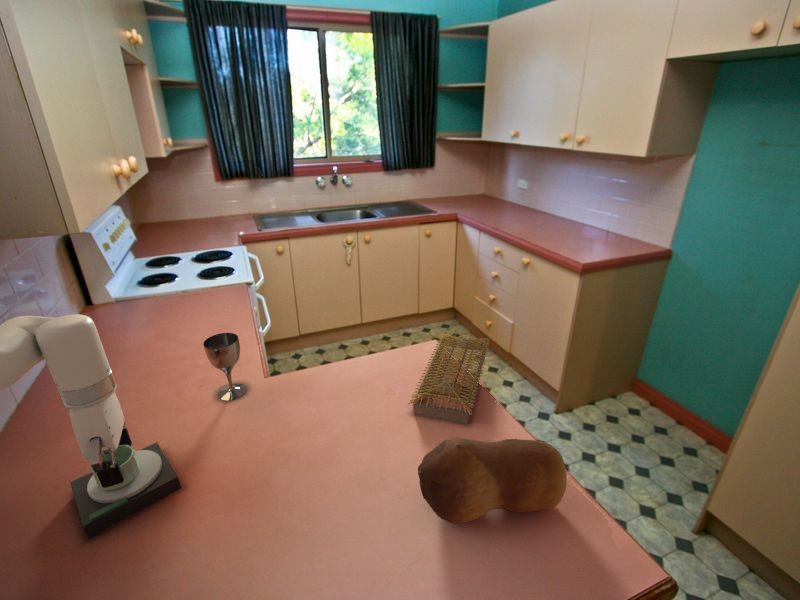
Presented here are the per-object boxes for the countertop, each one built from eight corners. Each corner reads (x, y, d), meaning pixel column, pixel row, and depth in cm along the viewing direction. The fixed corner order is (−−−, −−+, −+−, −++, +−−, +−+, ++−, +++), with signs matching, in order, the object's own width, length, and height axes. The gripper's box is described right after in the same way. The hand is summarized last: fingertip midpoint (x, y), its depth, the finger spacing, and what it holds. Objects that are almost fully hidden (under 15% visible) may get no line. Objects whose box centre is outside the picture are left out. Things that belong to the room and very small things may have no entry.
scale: (88, 539, 71) (81, 523, 70) (75, 493, 80) (68, 478, 79) (181, 488, 81) (177, 473, 79) (161, 452, 89) (156, 438, 88)
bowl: (94, 497, 75) (86, 477, 73) (101, 470, 80) (94, 451, 78) (138, 484, 77) (131, 465, 75) (142, 458, 83) (136, 440, 81)
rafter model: (471, 427, 94) (472, 404, 91) (408, 415, 98) (408, 393, 96) (489, 349, 124) (491, 330, 122) (441, 342, 128) (441, 324, 126)
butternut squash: (424, 543, 66) (581, 530, 68) (421, 459, 65) (580, 448, 67) (416, 496, 80) (545, 487, 81) (413, 426, 79) (544, 418, 80)
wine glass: (210, 392, 109) (197, 340, 103) (240, 379, 114) (229, 329, 108) (223, 405, 103) (211, 352, 97) (254, 391, 108) (244, 340, 102)
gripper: (74, 366, 77) (103, 440, 84) (44, 425, 62) (83, 508, 69) (122, 357, 79) (146, 429, 86) (104, 411, 65) (135, 493, 72)
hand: (118, 464), depth 78 cm, fingers open, 9 cm apart
